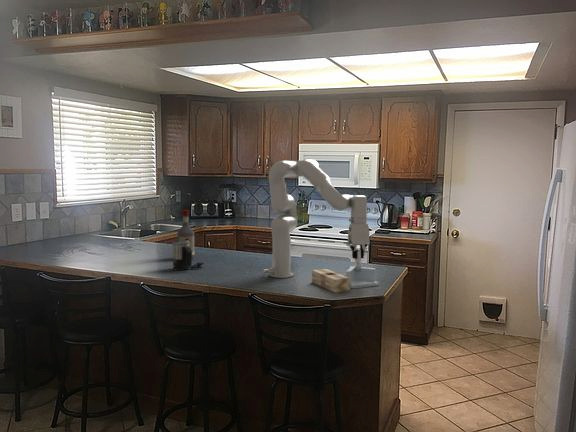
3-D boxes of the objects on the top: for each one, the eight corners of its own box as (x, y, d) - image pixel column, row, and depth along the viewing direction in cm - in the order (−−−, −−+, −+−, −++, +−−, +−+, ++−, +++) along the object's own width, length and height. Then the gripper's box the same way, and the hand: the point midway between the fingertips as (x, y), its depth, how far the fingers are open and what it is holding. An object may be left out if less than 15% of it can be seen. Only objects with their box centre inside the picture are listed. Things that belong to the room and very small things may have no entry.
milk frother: (168, 269, 263) (168, 243, 261) (187, 264, 277) (187, 239, 275) (189, 272, 256) (188, 245, 255) (207, 267, 270) (207, 241, 268)
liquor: (177, 258, 297) (176, 209, 294) (191, 257, 301) (191, 209, 298) (180, 260, 289) (179, 211, 286) (195, 259, 292) (194, 210, 289)
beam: (334, 292, 217) (335, 279, 217) (312, 282, 237) (312, 270, 237) (349, 290, 221) (349, 278, 220) (326, 280, 241) (326, 268, 240)
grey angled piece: (350, 288, 225) (351, 273, 224) (336, 282, 236) (336, 267, 236) (380, 285, 232) (380, 270, 231) (365, 279, 244) (365, 265, 243)
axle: (356, 272, 232) (357, 249, 231) (353, 271, 235) (353, 248, 234) (362, 271, 234) (362, 249, 232) (358, 270, 236) (359, 248, 235)
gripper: (348, 222, 225) (347, 260, 227) (377, 220, 232) (376, 258, 234) (340, 220, 232) (339, 258, 234) (368, 219, 239) (367, 255, 240)
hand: (358, 257), depth 234 cm, fingers closed on axle, 3 cm apart
